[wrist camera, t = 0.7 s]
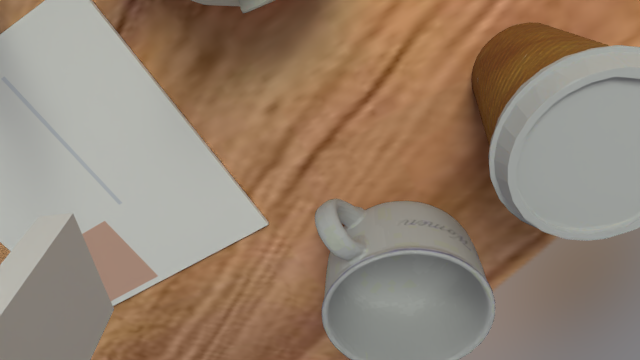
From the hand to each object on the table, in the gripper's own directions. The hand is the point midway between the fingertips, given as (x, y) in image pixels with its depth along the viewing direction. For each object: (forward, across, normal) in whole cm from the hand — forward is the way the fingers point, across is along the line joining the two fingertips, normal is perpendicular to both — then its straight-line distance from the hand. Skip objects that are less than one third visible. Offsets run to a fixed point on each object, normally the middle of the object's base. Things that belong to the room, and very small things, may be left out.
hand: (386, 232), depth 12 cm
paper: (+24, -20, -10) cm, 32 cm away
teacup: (+24, +1, -17) cm, 29 cm away
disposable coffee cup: (+24, +10, -6) cm, 27 cm away
